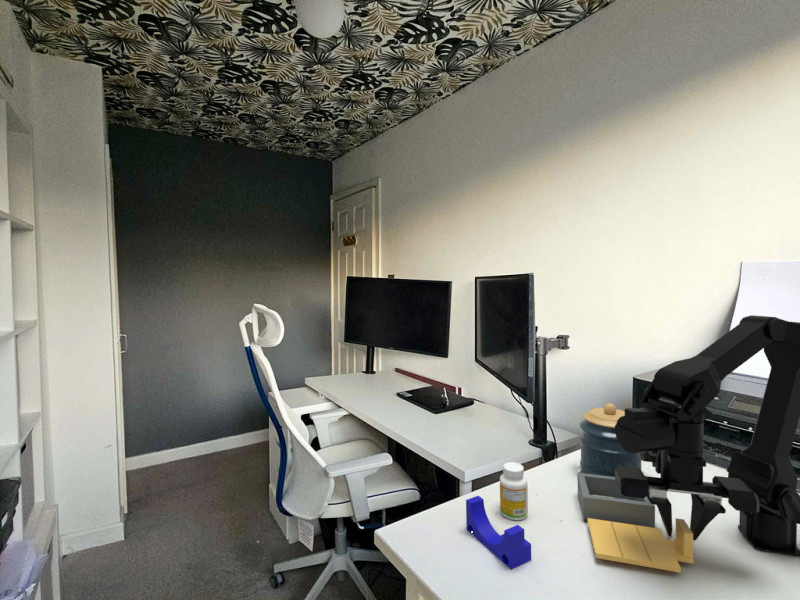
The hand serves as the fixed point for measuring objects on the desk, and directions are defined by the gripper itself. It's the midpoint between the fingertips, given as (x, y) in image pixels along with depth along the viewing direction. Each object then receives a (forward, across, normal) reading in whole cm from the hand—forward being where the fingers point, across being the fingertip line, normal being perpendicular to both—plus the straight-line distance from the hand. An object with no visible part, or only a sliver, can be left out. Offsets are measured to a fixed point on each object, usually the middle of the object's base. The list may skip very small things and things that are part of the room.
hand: (680, 537), depth 65 cm
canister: (+4, +6, -27) cm, 28 cm away
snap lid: (+4, +6, 0) cm, 7 cm away
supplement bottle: (+4, +27, -6) cm, 28 cm away
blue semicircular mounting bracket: (+4, +30, +4) cm, 30 cm away
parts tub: (+4, +8, -12) cm, 15 cm away
